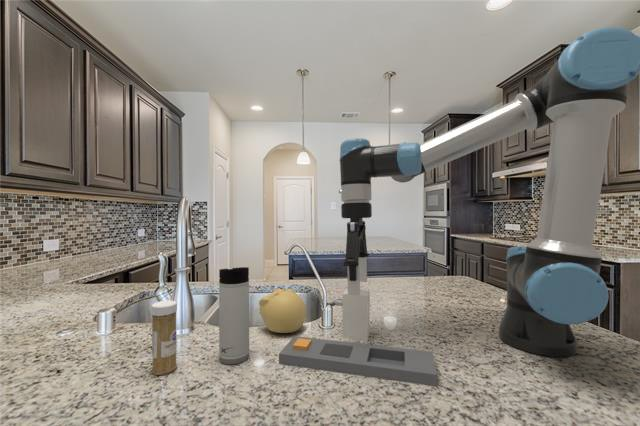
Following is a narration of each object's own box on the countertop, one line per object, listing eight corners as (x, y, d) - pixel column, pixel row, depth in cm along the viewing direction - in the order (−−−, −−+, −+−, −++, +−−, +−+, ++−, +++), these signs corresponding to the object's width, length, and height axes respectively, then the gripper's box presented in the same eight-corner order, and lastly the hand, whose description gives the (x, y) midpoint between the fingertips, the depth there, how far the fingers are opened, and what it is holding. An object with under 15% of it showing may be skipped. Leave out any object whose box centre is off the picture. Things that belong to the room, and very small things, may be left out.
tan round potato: (286, 318, 89) (286, 282, 89) (314, 329, 81) (314, 289, 81) (253, 329, 81) (253, 289, 81) (280, 342, 73) (280, 298, 73)
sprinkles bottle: (173, 374, 58) (173, 305, 58) (148, 377, 57) (147, 307, 57) (179, 362, 63) (179, 298, 63) (155, 365, 62) (155, 300, 62)
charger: (369, 333, 76) (369, 290, 76) (367, 341, 72) (367, 295, 72) (337, 330, 79) (337, 288, 79) (333, 337, 74) (333, 293, 74)
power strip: (432, 366, 61) (432, 347, 61) (437, 391, 52) (437, 370, 52) (294, 349, 69) (294, 332, 69) (278, 368, 60) (278, 349, 60)
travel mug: (222, 368, 60) (222, 269, 60) (217, 355, 66) (216, 264, 66) (252, 361, 63) (252, 267, 63) (245, 349, 69) (245, 262, 69)
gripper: (349, 204, 88) (351, 276, 88) (329, 200, 64) (332, 300, 64) (375, 203, 86) (377, 277, 86) (365, 199, 62) (367, 302, 62)
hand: (358, 287), depth 75 cm, fingers open, 13 cm apart
